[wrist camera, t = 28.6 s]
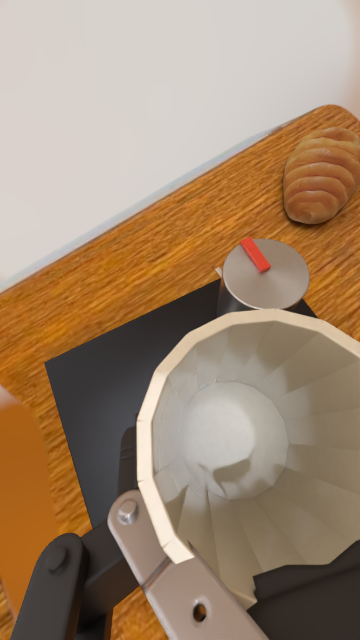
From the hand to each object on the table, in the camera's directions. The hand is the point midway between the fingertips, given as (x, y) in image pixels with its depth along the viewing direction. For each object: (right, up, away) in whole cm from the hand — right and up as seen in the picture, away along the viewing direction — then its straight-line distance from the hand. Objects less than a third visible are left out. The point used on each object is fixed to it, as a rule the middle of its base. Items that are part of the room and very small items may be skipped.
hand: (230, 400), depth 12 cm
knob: (+2, +4, +6) cm, 8 cm away
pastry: (+11, +16, +14) cm, 24 cm away
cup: (+1, -3, +3) cm, 5 cm away
